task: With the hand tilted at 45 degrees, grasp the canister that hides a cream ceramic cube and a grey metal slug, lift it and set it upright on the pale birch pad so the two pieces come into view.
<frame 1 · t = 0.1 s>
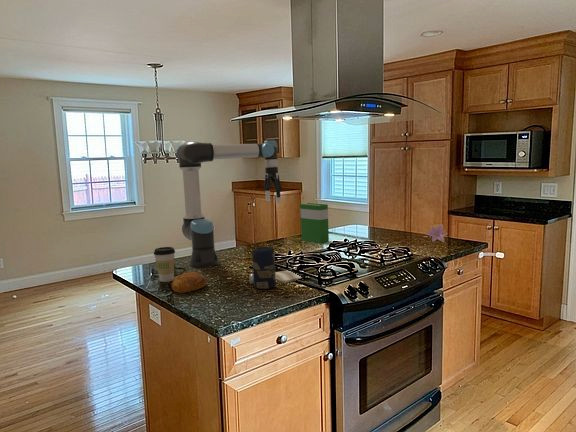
hand: (273, 202, 271), 28 cm above the counter, tool pointing down, fingers open, 13 cm apart
coffee cup: (166, 280, 211), on the counter
ceramic cube: (265, 281, 202), on the counter
canister: (264, 287, 193), on the counter
lily: (436, 241, 276), on the counter
metal slug: (253, 283, 200), on the counter
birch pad: (288, 276, 208), on the counter
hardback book: (315, 241, 290), on the counter
bread loaf: (188, 288, 197), on the counter
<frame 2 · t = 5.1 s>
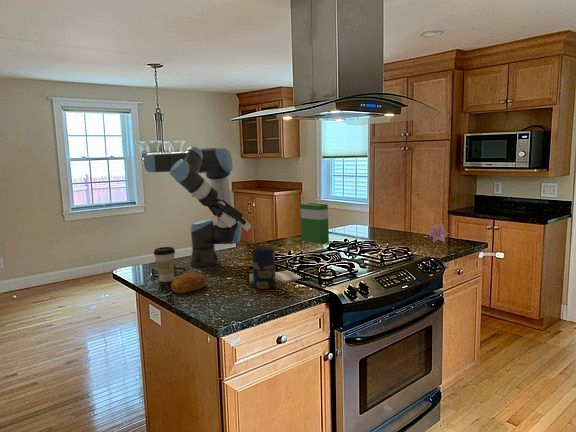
hand: (240, 226, 184), 28 cm above the counter, tool tilted 45°, fingers open, 13 cm apart
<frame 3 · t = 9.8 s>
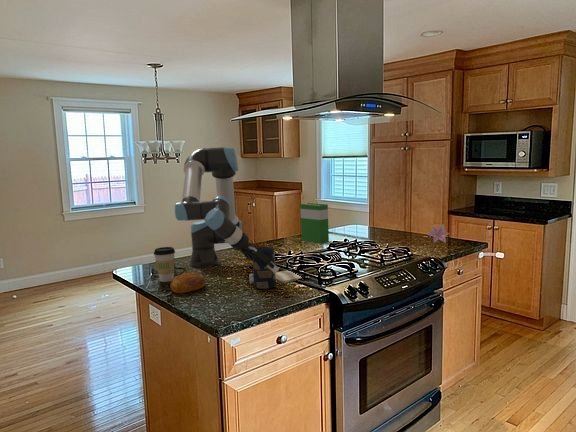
hand: (270, 269, 194), 7 cm above the counter, tool tilted 45°, fingers closed on canister, 9 cm apart
canister: (264, 287, 193), on the counter, touching gripper
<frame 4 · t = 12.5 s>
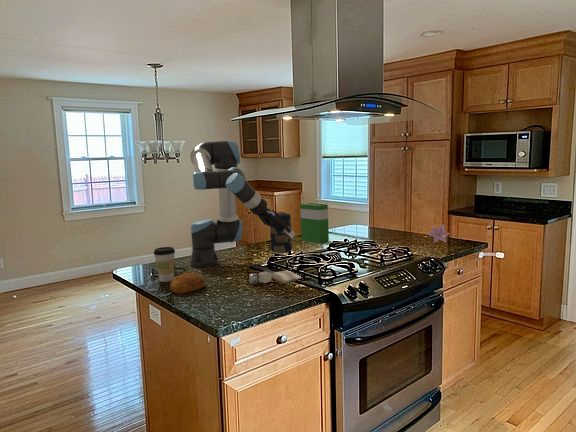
hand: (286, 234, 202), 20 cm above the counter, tool tilted 45°, fingers closed on canister, 9 cm apart
canister: (281, 252, 201), point 13 cm above the counter, touching gripper
when the fingers open (10 cm above the counter, at t = 15.5 s): canister drops 1 cm, resting on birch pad.
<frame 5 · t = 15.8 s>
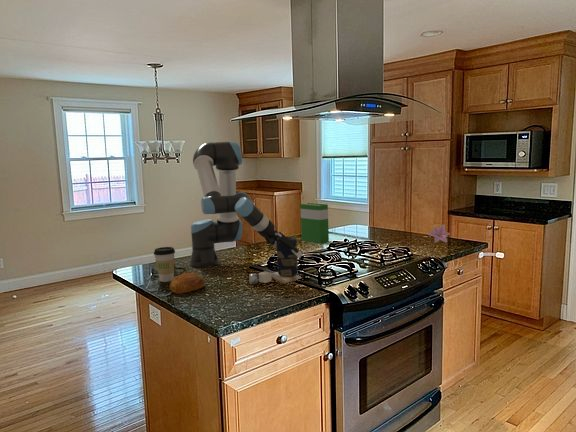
hand: (291, 253, 208), 11 cm above the counter, tool tilted 45°, fingers open, 13 cm apart
canister: (288, 275, 208), point 1 cm above the counter, touching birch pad
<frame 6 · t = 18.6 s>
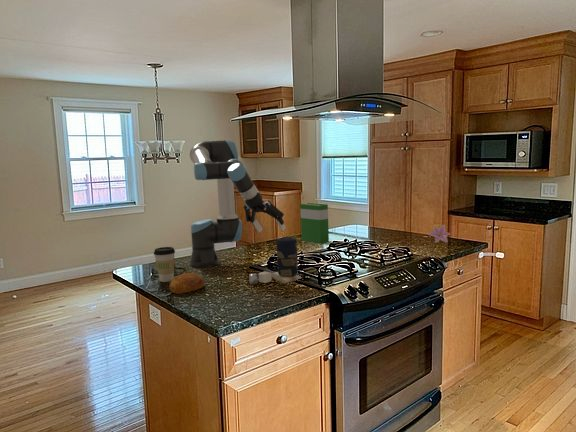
hand: (272, 230, 209), 22 cm above the counter, tool tilted 35°, fingers open, 13 cm apart
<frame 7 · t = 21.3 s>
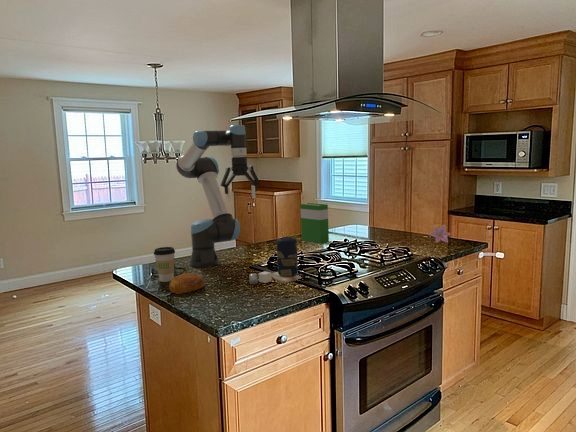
hand: (241, 199, 225), 35 cm above the counter, tool pointing down, fingers open, 13 cm apart
at the end: canister inside the target area on the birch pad (0.3 cm from its centre), point 0.8 cm above the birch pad's base; canister tilted 0°; the gripper is holding nothing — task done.
